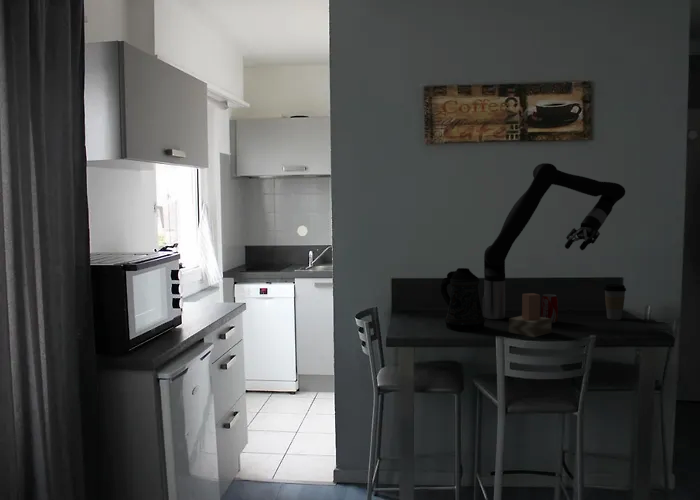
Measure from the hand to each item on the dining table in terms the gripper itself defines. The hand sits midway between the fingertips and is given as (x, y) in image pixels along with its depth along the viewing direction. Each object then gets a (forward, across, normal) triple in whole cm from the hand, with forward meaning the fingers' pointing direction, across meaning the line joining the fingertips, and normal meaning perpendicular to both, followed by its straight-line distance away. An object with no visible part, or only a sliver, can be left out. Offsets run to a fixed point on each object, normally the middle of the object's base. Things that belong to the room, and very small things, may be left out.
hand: (573, 248), depth 267 cm
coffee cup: (+6, 0, +41) cm, 41 cm away
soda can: (+28, -7, +19) cm, 34 cm away
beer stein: (+56, -16, -9) cm, 59 cm away
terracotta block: (+39, +5, -1) cm, 39 cm away
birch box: (+43, +5, +4) cm, 43 cm away
